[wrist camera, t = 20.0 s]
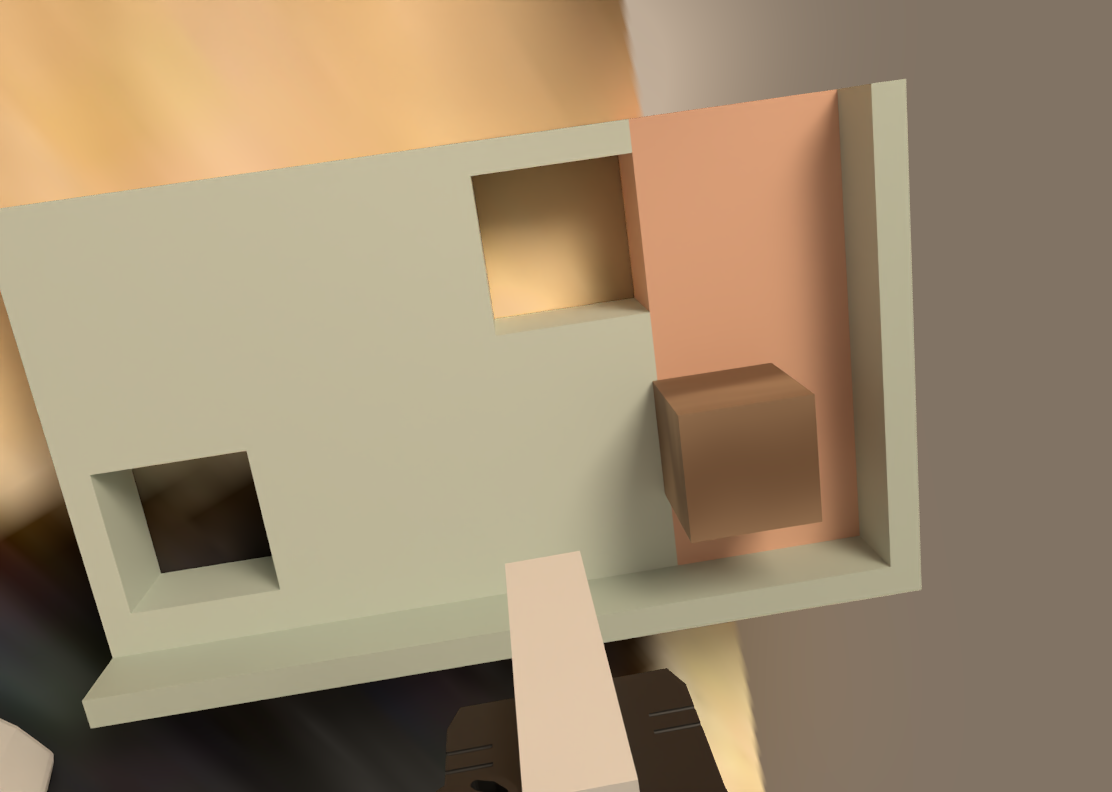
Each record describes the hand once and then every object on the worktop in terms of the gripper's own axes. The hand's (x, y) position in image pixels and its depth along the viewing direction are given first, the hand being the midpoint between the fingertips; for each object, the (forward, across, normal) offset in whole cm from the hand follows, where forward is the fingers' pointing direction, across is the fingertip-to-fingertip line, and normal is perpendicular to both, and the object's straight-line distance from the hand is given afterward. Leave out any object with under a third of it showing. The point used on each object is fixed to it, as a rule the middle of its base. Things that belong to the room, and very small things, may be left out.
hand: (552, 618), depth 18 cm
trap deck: (+15, -1, +1) cm, 15 cm away
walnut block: (+12, +6, -1) cm, 14 cm away
